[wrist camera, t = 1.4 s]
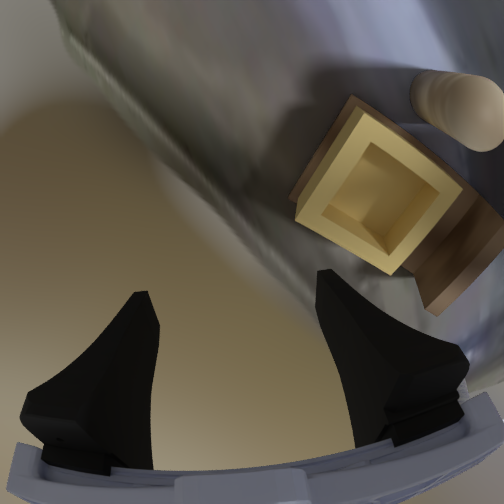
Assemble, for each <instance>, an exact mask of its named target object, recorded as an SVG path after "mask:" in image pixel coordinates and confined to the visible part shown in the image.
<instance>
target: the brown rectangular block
mask: <svg viewBox="0 0 504 504" xmlns="http://www.w3.org/2000/svg"><path fill="white" fill-rule="evenodd" d="M356 106H358V107H359V108H361V109H362V110H364V111H366V112H367V113H369V114H370V115H372V116H373V117H375V118H376V119H378V120H379V121H381V122H382V123H383V124H385V125H386V126H388V127H389V128H391V129H392V130H393V131H395V132H396V133H398V134H399V135H400V136H402V137H403V138H404V139H406V140H407V141H408V142H410V143H411V144H412V145H414V146H415V147H416V148H418V149H419V150H420V151H421V152H423V153H424V154H425V155H426V156H428V157H429V158H430V159H431V160H433V161H434V162H435V163H436V164H437V165H439V166H440V167H441V168H442V169H443V170H445V171H446V172H447V173H448V174H449V175H450V176H451V177H452V178H453V179H454V180H455V181H456V182H457V183H458V184H459V186H460V187H461V188H462V189H463V190H462V191H461V193H460V194H459V195H458V197H457V198H456V199H455V201H454V202H453V203H452V204H451V206H450V207H449V208H448V210H447V211H446V212H445V213H444V215H443V216H442V217H441V218H440V220H439V221H438V222H437V223H436V224H435V226H434V227H433V228H432V229H431V231H430V232H429V233H428V234H427V235H426V236H425V238H424V239H423V240H422V241H421V242H420V243H419V245H418V246H417V247H416V248H415V249H414V250H413V252H412V253H411V254H410V255H409V256H408V257H407V258H406V259H405V261H404V262H403V263H402V264H401V265H400V266H402V267H404V268H405V269H407V270H408V271H410V272H411V273H413V274H414V277H415V280H416V283H417V286H418V289H419V293H420V296H421V299H422V302H423V305H424V309H425V310H427V311H428V312H430V313H432V314H433V315H435V316H439V315H440V314H441V313H442V312H443V311H444V310H445V309H446V308H447V307H448V306H449V305H450V304H451V303H452V302H453V301H455V300H456V299H457V298H458V297H459V296H460V295H461V294H462V293H463V292H464V291H465V290H466V289H467V288H468V287H469V286H470V285H471V284H472V283H473V281H474V280H475V279H476V278H477V277H478V276H479V275H480V274H481V273H482V272H483V271H484V270H485V269H486V268H487V267H488V265H489V264H490V263H491V262H492V261H493V260H494V259H495V258H496V256H497V255H498V254H499V253H500V252H501V251H502V250H503V248H504V220H503V218H502V217H501V216H500V215H499V214H498V213H497V212H496V211H495V210H494V209H493V207H492V206H491V205H490V204H489V203H488V202H487V201H486V200H485V199H484V198H483V197H482V196H481V195H480V194H479V193H478V192H477V191H476V190H475V189H474V188H473V187H472V186H471V185H469V184H468V183H467V182H466V181H465V180H464V179H463V178H462V177H461V176H460V175H459V174H458V173H456V172H455V171H454V170H453V169H452V168H451V167H450V166H449V165H447V164H446V163H445V162H444V161H443V160H442V159H440V158H439V157H438V156H437V155H436V154H434V153H433V152H432V151H431V150H430V149H428V148H427V147H426V146H425V145H423V144H422V143H421V142H419V141H418V140H417V139H416V138H414V137H413V136H412V135H410V134H409V133H408V132H406V131H405V130H404V129H402V128H401V127H400V126H398V125H397V124H396V123H394V122H393V121H391V120H390V119H388V118H387V117H386V116H384V115H383V114H381V113H380V112H378V111H377V110H375V109H374V108H372V107H371V106H369V105H368V104H366V103H365V102H363V101H362V100H360V99H359V98H357V97H355V96H354V95H352V94H351V95H350V97H349V98H348V100H347V102H346V103H345V105H344V106H343V108H342V110H341V111H340V113H339V115H338V116H337V118H336V119H335V121H334V123H333V124H332V126H331V127H330V129H329V131H328V132H327V134H326V136H325V137H324V139H323V140H322V142H321V144H320V145H319V147H318V149H317V150H316V152H315V153H314V155H313V157H312V158H311V160H310V161H309V163H308V165H307V166H306V168H305V170H304V171H303V173H302V174H301V176H300V178H299V179H298V181H297V183H296V184H295V186H294V187H293V189H292V191H291V192H290V194H289V195H288V199H289V200H291V201H293V202H294V203H296V204H297V202H298V197H299V196H300V194H301V193H302V191H303V189H304V188H305V186H306V185H307V183H308V182H309V180H310V178H311V177H312V175H313V174H314V172H315V171H316V169H317V167H318V166H319V164H320V163H321V161H322V160H323V158H324V156H325V155H326V153H327V152H328V150H329V148H330V147H331V145H332V144H333V142H334V141H335V139H336V137H337V136H338V134H339V133H340V131H341V129H342V128H343V126H344V125H345V123H346V121H347V120H348V118H349V117H350V115H351V114H352V112H353V110H354V109H355V107H356Z"/></svg>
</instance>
